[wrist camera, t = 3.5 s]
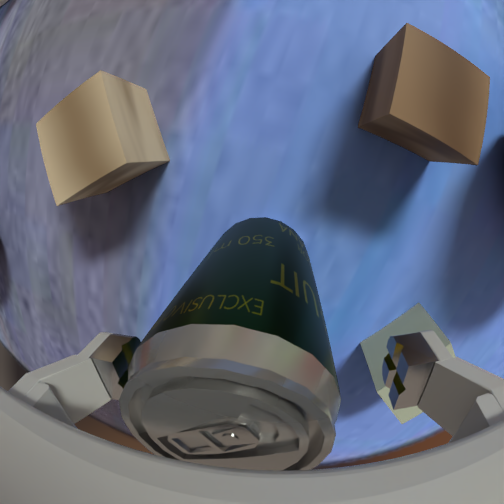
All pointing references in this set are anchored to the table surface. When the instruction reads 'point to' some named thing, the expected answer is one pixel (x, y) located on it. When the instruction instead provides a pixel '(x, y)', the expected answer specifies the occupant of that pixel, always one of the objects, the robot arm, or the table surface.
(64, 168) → the beech block
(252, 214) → the table surface
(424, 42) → the walnut block
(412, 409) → the sage painted block
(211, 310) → the beer can
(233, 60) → the table surface
